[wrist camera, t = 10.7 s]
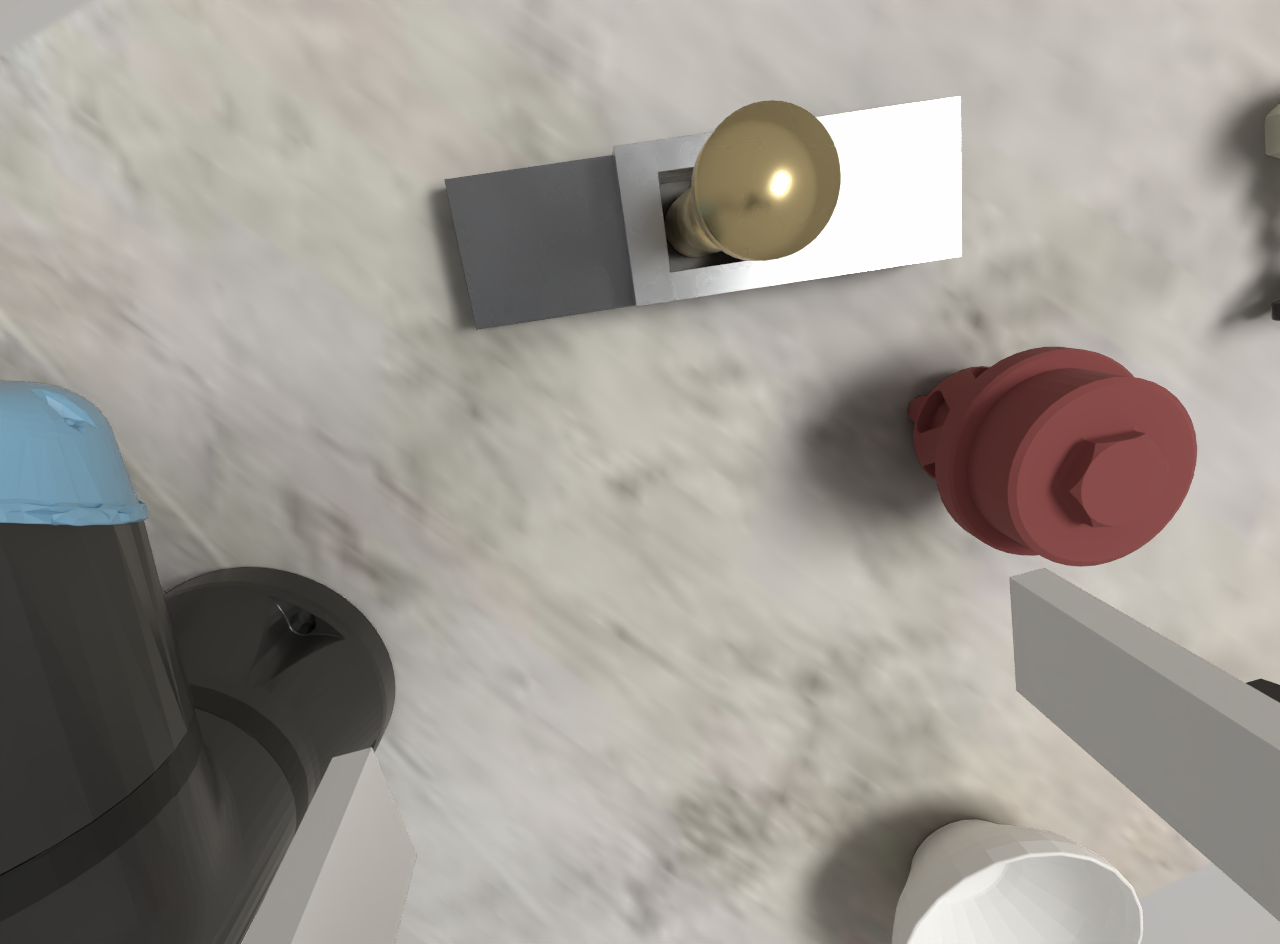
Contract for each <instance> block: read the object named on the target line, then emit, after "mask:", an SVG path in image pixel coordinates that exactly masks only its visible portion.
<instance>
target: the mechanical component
mask: <svg viewBox="0 0 1280 944" xmlns="http://www.w3.org/2000/svg"><path fill="white" fill-rule="evenodd" d="M908 415H909V417H910V419H911V420H912V421H913V422H915V425H914V433H913V442H914V449H915V453H916V456H917V459H918V461H919V462H920V464H921V466H922V468H923V469H924V470H925V471H926V472H927V473H928V475H929V476H931V477H932V478H933V479H935V480H936V481H937V487H938V490H939V493H940V496H941V499H942V502H943V503H944V505H945V507H946V509H947V511H948V512H949V514H950V515H951V516H952V518H953V519H954V520H955V522H957V523H958V524H959V525H960V526H961V527H962V528H963V529H964V530H965V531H967V532H968V533H970V534H972V535H973V536H975V537H976V538H978V539H979V540H981V541H982V542H984V543H985V544H987V545H989V546H991V547H993V548H995V549H998V550H1001V551H1004V552H1007V553H1011V554H1017V555H1040V556H1042V557H1044V558H1046V559H1049V560H1051V561H1053V562H1056V563H1060V564H1064V565H1069V566H1094V565H1099V564H1103V563H1108V562H1111V561H1114V560H1116V559H1119V558H1122V557H1124V556H1126V555H1128V554H1130V553H1132V552H1134V551H1136V550H1137V549H1139V548H1140V547H1142V546H1143V545H1145V544H1146V543H1147V542H1149V541H1150V540H1151V539H1152V538H1154V537H1155V536H1156V535H1157V534H1158V533H1159V532H1160V531H1161V530H1162V529H1163V528H1164V527H1165V526H1166V525H1167V524H1168V522H1169V521H1170V520H1171V519H1172V518H1173V516H1174V515H1175V513H1176V512H1177V510H1178V509H1179V507H1180V506H1181V504H1182V502H1183V500H1184V498H1185V497H1186V495H1187V493H1188V490H1189V488H1190V485H1191V482H1192V479H1193V476H1194V471H1195V466H1196V458H1197V443H1196V434H1195V430H1194V427H1193V424H1192V420H1191V418H1190V416H1189V415H1188V413H1187V411H1186V409H1185V407H1184V406H1183V405H1182V404H1181V402H1180V401H1179V400H1178V399H1177V397H1175V396H1174V395H1173V394H1172V393H1171V392H1169V391H1168V390H1167V389H1165V388H1163V387H1162V386H1160V385H1158V384H1156V383H1154V382H1151V381H1147V380H1144V379H1141V378H1135V377H1134V376H1133V375H1132V374H1131V373H1130V372H1129V371H1128V370H1127V369H1126V368H1125V367H1123V366H1122V365H1121V364H1119V363H1118V362H1116V361H1114V360H1113V359H1111V358H1109V357H1107V356H1104V355H1102V354H1099V353H1096V352H1092V351H1087V350H1082V349H1073V348H1065V347H1042V348H1035V349H1029V350H1026V351H1023V352H1020V353H1016V354H1014V355H1012V356H1010V357H1007V358H1005V359H1003V360H1001V361H999V362H998V363H996V364H995V365H993V366H991V367H985V366H980V367H971V368H968V369H964V370H961V371H959V372H956V373H954V374H952V375H950V376H949V377H947V378H946V379H944V380H943V381H941V382H940V383H939V384H938V385H937V386H936V387H935V388H934V389H933V390H932V391H931V392H930V394H929V395H928V396H926V395H922V396H918V397H916V398H915V399H914V400H912V402H911V403H910V405H909V408H908Z"/></svg>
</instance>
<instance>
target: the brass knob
mask: <svg viewBox="0 0 1280 944" xmlns="http://www.w3.org/2000/svg"><path fill="white" fill-rule="evenodd" d="M840 187H841V167H840V160H839V156H838V152H837V149H836V147H835V144H834V142H833V140H832V138H831V136H830V134H829V132H828V131H827V130H826V128H825V127H824V125H823V124H822V123H821V122H820V121H819V120H818V119H817V118H816V117H815V116H813V115H812V114H811V113H810V112H808V111H806V110H805V109H803V108H801V107H799V106H796V105H794V104H791V103H787V102H783V101H762V102H757V103H753V104H750V105H747V106H745V107H743V108H741V109H739V110H737V111H735V112H734V113H732V114H731V115H730V116H728V117H727V118H726V119H725V120H724V121H723V122H722V123H721V124H720V125H719V126H718V127H717V128H716V129H715V131H714V132H713V133H712V134H711V136H710V137H709V138H708V139H707V141H706V142H705V144H704V145H703V147H702V148H701V150H700V152H699V154H698V157H697V159H696V162H695V165H694V168H693V173H692V178H691V186H690V187H689V188H688V189H687V190H686V191H685V192H684V193H683V194H682V195H680V196H679V197H678V198H677V199H676V200H675V201H674V202H673V204H672V205H671V206H670V208H669V210H668V212H667V215H666V219H665V231H666V235H667V238H668V240H669V242H670V244H671V245H672V246H673V248H674V249H675V250H676V251H678V252H679V253H681V254H683V255H685V256H689V257H701V256H705V255H709V254H712V253H716V252H720V251H723V252H724V253H726V254H728V255H730V256H732V257H735V258H738V259H741V260H746V261H767V260H774V259H779V258H783V257H787V256H789V255H792V254H794V253H796V252H798V251H800V250H802V249H803V248H805V247H806V246H808V245H809V244H810V243H811V242H813V241H814V240H815V239H816V238H817V237H818V236H819V235H820V233H821V232H822V231H823V230H824V228H825V227H826V225H827V224H828V222H829V221H830V219H831V217H832V215H833V213H834V210H835V208H836V205H837V202H838V198H839V194H840Z"/></svg>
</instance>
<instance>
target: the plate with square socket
mask: <svg viewBox="0 0 1280 944" xmlns="http://www.w3.org/2000/svg"><path fill="white" fill-rule="evenodd" d="M816 118H817V119H818V120H819V121H820V122H821V123H822V124H823V125H824V127H825V128H826V130H827V131H828V132H829V134H830V136H831V138H832V140H833V142H834V144H835V147H836V149H837V152H838V156H839V160H840V167H841V187H840V194H839V198H838V202H837V205H836V208H835V210H834V213H833V215H832V217H831V219H830V221H829V222H828V224H827V225H826V227H825V228H824V230H823V231H822V232H821V233H820V235H819V236H818V237H817V238H816V239H815V240H814V241H813V242H811V243H810V244H809V245H808V246H806V247H805V248H803V249H802V250H800V251H798V252H796V253H794V254H792V255H789V256H787V257H783V258H779V259H774V260H767V261H746V260H742V262H736V263H730V264H723V265H717V266H710V267H703V268H697V269H690V270H684V271H677V272H671V273H670V266H669V258H668V250H667V242H666V234H665V226H664V218H663V211H662V203H661V195H660V187H659V184H663V183H669V182H676V181H683V180H690V179H691V178H692V173H693V168H694V165H695V162H696V159H697V157H698V154H699V152H700V150H701V148H702V147H703V145H704V144H705V142H706V141H707V139H708V138H709V137H710V136H711V134H712V133H713V132H710V133H703V134H696V135H689V136H682V137H675V138H668V139H662V140H655V141H648V142H641V143H634V144H627V145H620V146H614V148H613V153H612V155H610V156H603V157H596V158H590V159H583V160H576V161H569V162H562V163H555V164H548V165H541V166H534V167H528V168H521V169H514V170H507V171H500V172H493V173H486V174H479V175H472V176H466V177H459V178H452V179H445V185H446V190H447V194H448V199H449V204H450V208H451V213H452V218H453V223H454V227H455V232H456V237H457V241H458V246H459V251H460V255H461V260H462V265H463V269H464V274H465V279H466V283H467V288H468V293H469V297H470V302H471V307H472V311H473V316H474V321H475V325H476V330H478V329H484V328H491V327H497V326H504V325H510V324H517V323H523V322H530V321H536V320H543V319H549V318H556V317H562V316H568V315H575V314H581V313H588V312H594V311H601V310H607V309H614V308H620V307H627V306H633V305H634V306H643V305H650V304H656V303H663V302H669V301H675V300H682V299H688V298H695V297H701V296H708V295H714V294H721V293H727V292H734V291H740V290H747V289H753V288H760V287H766V286H773V285H779V284H786V283H792V282H798V281H805V280H811V279H818V278H824V277H831V276H837V275H844V274H850V273H857V272H863V271H870V270H876V269H883V268H889V267H896V266H902V265H909V264H915V263H922V262H928V261H934V260H941V259H947V258H954V257H960V256H961V96H959V97H952V98H945V99H938V100H931V101H924V102H917V103H910V104H903V105H897V106H890V107H883V108H876V109H869V110H862V111H855V112H848V113H841V114H834V115H827V116H820V117H816Z"/></svg>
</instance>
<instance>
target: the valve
mask: <svg viewBox="0 0 1280 944" xmlns="http://www.w3.org/2000/svg"><path fill="white" fill-rule="evenodd" d="M1265 152H1266V155H1268V156H1272V157H1275V158H1278V159H1280V103H1279V104H1278V105H1277V106H1276V107H1275V108H1274V109H1273V110H1272V111H1271V112H1270V113H1269V114H1267V116H1266V117H1265ZM1272 319H1273V320H1276V321H1280V300H1277V301H1274V302H1272Z"/></svg>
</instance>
